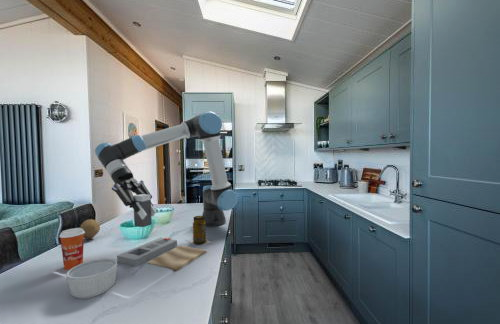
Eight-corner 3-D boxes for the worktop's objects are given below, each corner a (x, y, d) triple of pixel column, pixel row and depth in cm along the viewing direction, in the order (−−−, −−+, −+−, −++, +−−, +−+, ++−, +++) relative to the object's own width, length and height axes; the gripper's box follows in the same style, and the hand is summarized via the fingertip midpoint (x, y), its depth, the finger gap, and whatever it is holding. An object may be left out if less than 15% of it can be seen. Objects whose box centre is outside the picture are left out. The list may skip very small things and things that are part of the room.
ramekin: (61, 306, 67) (60, 281, 67) (74, 283, 79) (73, 262, 79) (115, 294, 72) (114, 271, 72) (119, 274, 84) (119, 255, 84)
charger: (142, 223, 99) (141, 194, 98) (151, 224, 97) (150, 194, 96) (134, 225, 95) (133, 195, 95) (143, 227, 93) (142, 196, 93)
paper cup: (58, 274, 85) (56, 235, 85) (63, 265, 92) (61, 229, 92) (84, 269, 89) (83, 231, 88) (87, 261, 96) (86, 226, 95)
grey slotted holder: (160, 243, 113) (160, 236, 113) (177, 246, 109) (177, 239, 109) (117, 263, 93) (117, 254, 93) (135, 267, 89) (134, 258, 89)
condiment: (202, 238, 120) (202, 214, 119) (211, 242, 113) (210, 217, 113) (189, 241, 115) (188, 216, 115) (197, 246, 109) (196, 220, 108)
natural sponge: (104, 237, 124) (103, 218, 123) (86, 243, 116) (85, 222, 116) (94, 235, 128) (93, 216, 128) (75, 240, 120) (74, 220, 120)
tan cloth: (180, 247, 108) (180, 245, 108) (206, 252, 102) (206, 250, 102) (147, 264, 92) (147, 261, 92) (176, 271, 86) (176, 268, 86)
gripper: (133, 177, 110) (161, 216, 103) (95, 181, 94) (125, 227, 88) (141, 165, 107) (170, 204, 100) (103, 167, 92) (134, 214, 85)
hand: (149, 215), depth 94 cm, fingers closed on charger, 4 cm apart
